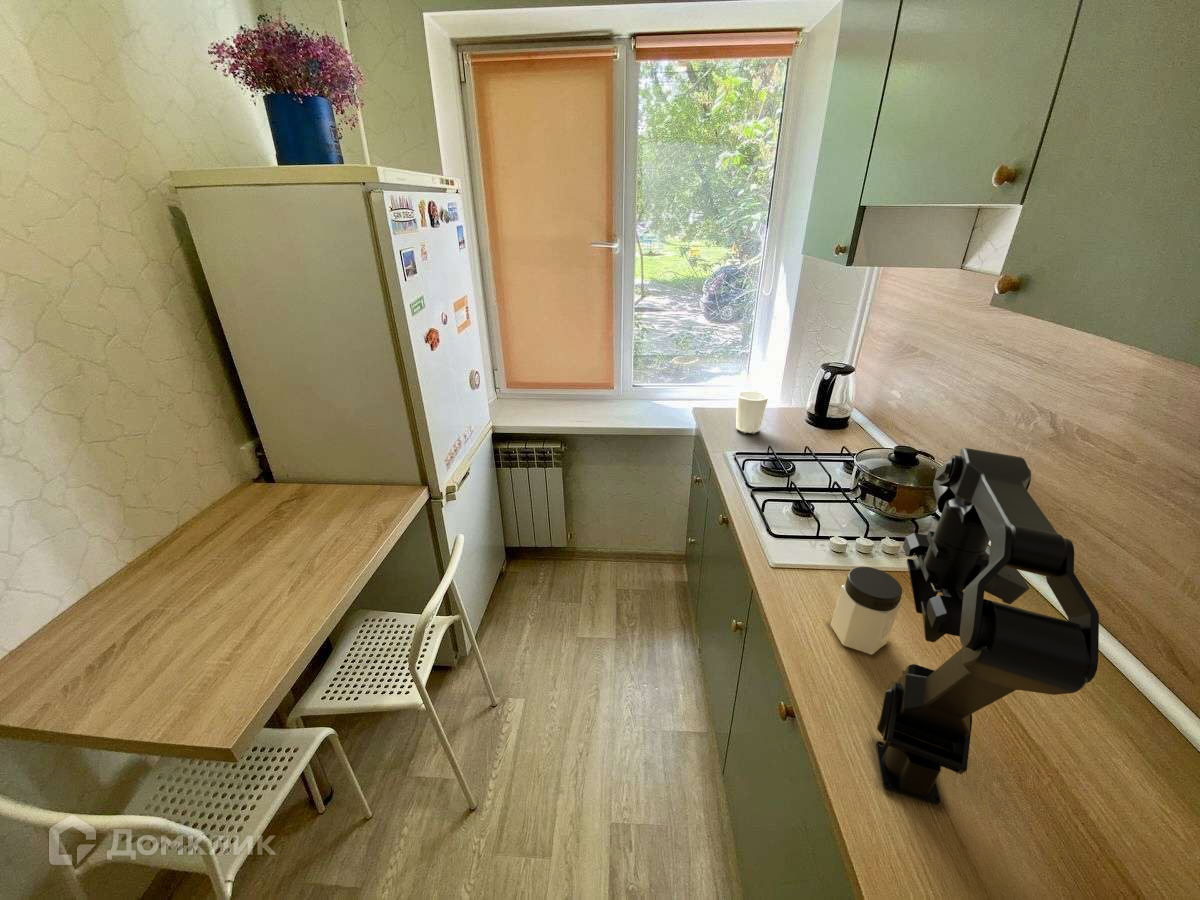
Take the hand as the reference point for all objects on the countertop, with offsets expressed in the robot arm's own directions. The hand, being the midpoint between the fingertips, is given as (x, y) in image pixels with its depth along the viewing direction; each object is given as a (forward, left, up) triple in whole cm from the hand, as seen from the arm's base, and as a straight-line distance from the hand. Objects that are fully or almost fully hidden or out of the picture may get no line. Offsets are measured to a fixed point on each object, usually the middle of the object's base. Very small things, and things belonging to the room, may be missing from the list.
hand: (924, 626), depth 71 cm
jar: (+9, +5, -13) cm, 17 cm away
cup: (+95, +29, -13) cm, 101 cm away
